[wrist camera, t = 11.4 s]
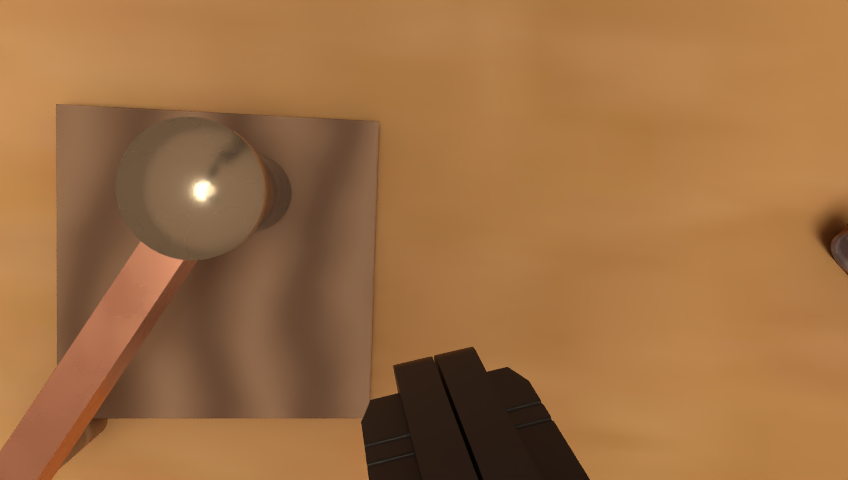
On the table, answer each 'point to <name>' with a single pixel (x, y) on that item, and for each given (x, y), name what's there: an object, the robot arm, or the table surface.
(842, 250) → the tin
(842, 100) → the table surface
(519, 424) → the robot arm
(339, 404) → the base
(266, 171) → the capstan
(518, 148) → the table surface
